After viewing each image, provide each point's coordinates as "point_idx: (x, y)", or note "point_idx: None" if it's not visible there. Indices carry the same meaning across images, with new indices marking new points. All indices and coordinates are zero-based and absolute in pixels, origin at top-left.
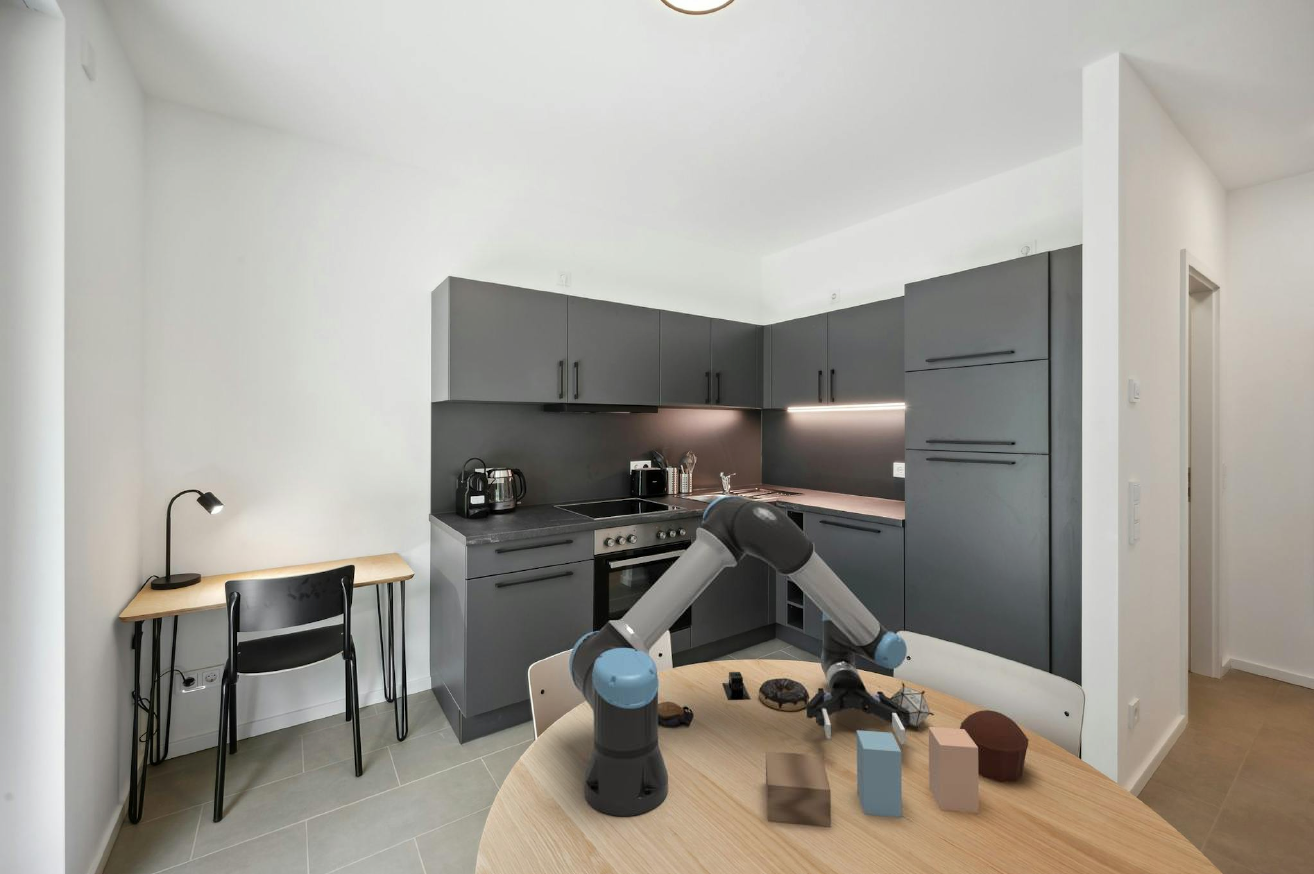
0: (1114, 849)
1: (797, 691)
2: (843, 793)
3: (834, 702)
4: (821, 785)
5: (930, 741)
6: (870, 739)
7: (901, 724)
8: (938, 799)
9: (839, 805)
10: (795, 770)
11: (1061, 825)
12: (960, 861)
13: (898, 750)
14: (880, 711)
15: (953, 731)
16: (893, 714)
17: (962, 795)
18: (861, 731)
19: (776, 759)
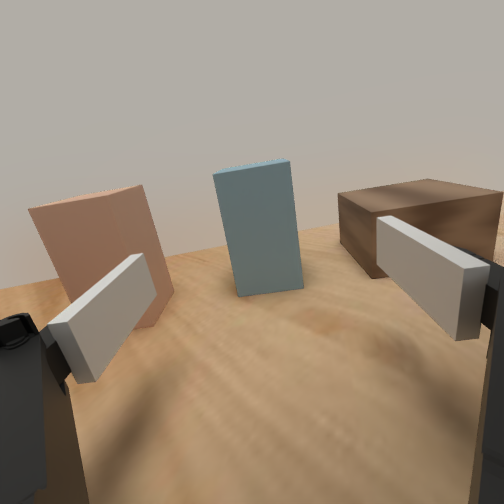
0: (19, 292)
1: None
2: (329, 280)
3: (485, 404)
4: (351, 192)
5: (123, 221)
6: (265, 163)
7: (115, 269)
8: (168, 286)
9: (333, 263)
10: (404, 191)
11: (25, 306)
12: (205, 249)
13: (225, 168)
14: (63, 433)
15: (65, 201)
16: (75, 312)
17: None
18: (279, 162)
19: (457, 191)
